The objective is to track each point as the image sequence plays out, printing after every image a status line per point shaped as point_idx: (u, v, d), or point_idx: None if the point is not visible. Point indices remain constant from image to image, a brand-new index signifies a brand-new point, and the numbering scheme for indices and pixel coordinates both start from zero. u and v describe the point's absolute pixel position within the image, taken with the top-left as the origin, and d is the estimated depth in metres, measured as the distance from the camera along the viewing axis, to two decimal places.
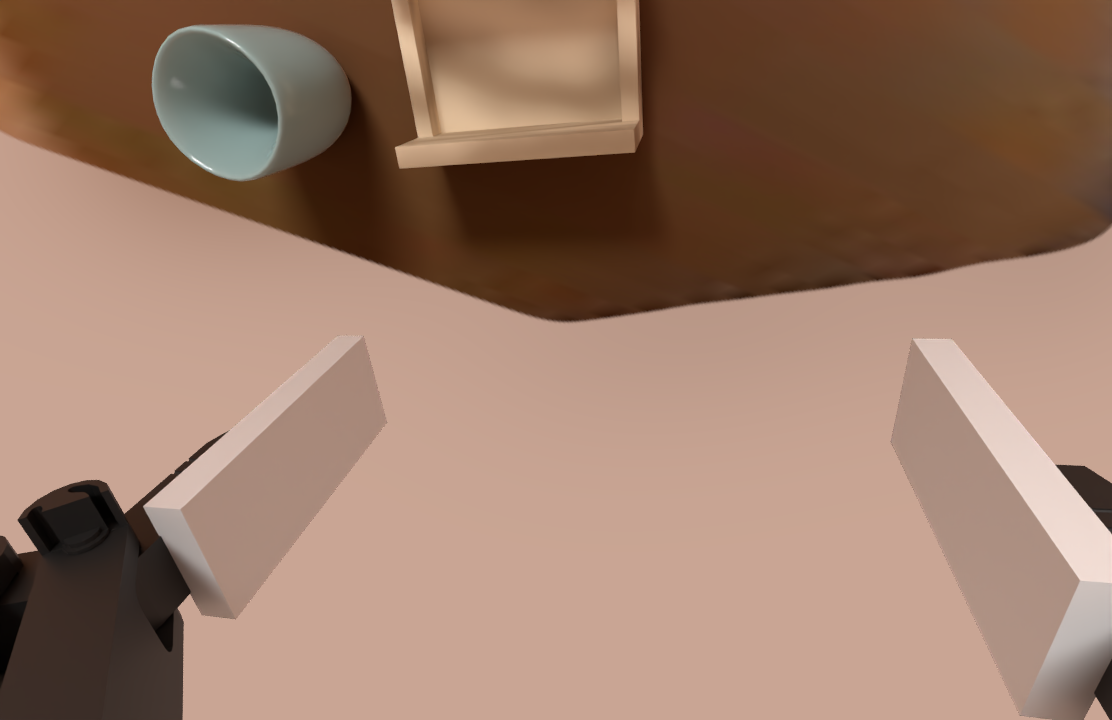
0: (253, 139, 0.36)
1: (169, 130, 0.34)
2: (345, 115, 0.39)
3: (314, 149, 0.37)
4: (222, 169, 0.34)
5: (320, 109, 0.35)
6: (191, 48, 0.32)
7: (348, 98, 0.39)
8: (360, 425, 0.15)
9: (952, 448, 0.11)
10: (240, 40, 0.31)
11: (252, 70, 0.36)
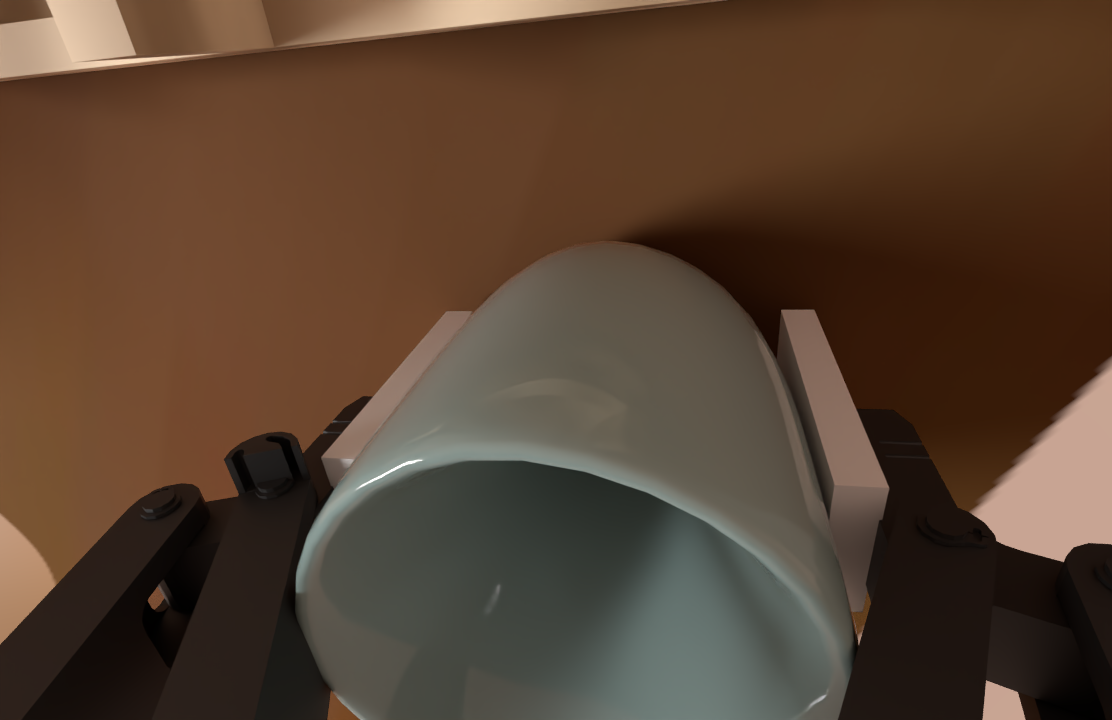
0: (700, 553, 0.11)
1: None
2: (675, 261, 0.13)
3: (763, 371, 0.10)
4: None
5: (621, 306, 0.09)
6: (396, 640, 0.10)
7: (631, 244, 0.13)
8: None
9: (794, 399, 0.13)
10: (322, 507, 0.08)
11: (524, 475, 0.13)
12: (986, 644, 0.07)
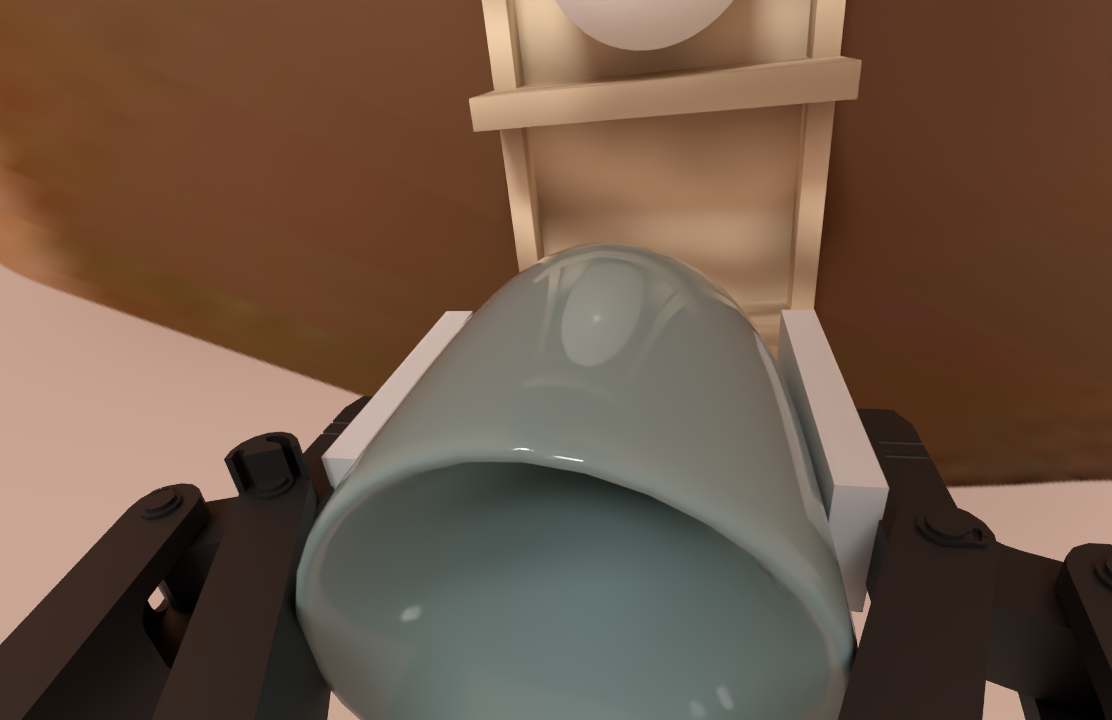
0: (700, 554, 0.11)
1: None
2: (675, 262, 0.13)
3: (763, 373, 0.10)
4: None
5: (621, 308, 0.09)
6: (397, 641, 0.10)
7: (631, 246, 0.13)
8: None
9: (794, 399, 0.13)
10: (323, 508, 0.08)
11: (524, 477, 0.13)
12: (986, 644, 0.07)
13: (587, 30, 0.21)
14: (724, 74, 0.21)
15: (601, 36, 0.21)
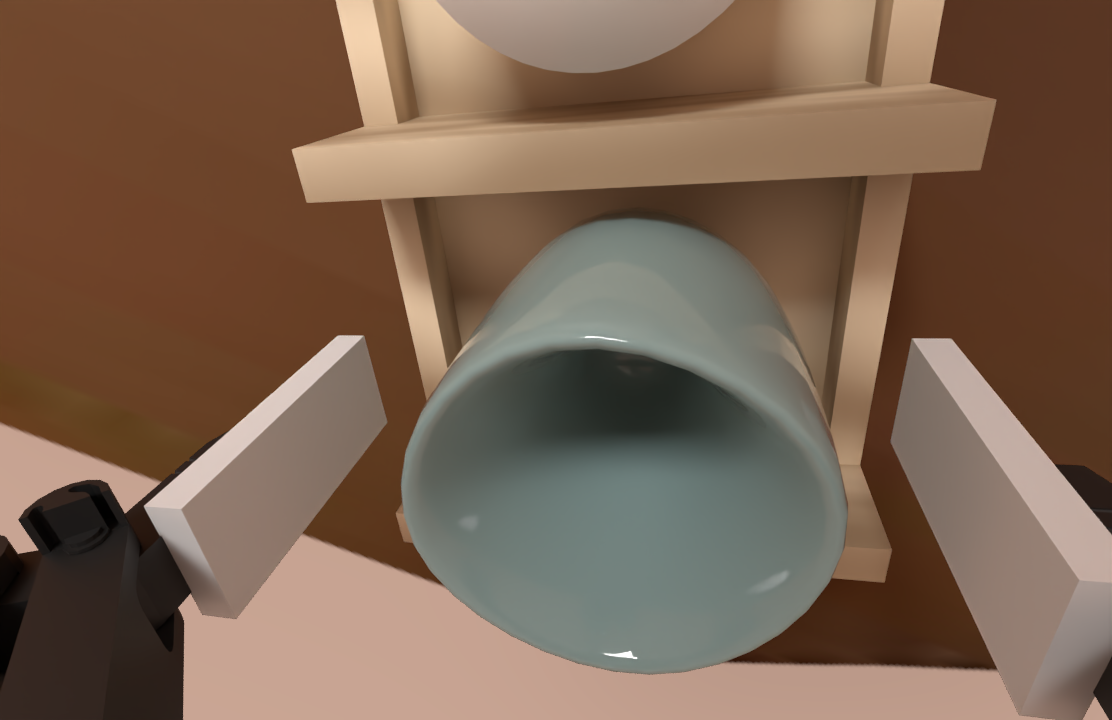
0: (718, 459, 0.13)
1: (659, 663, 0.12)
2: (696, 222, 0.15)
3: (772, 305, 0.12)
4: (790, 583, 0.11)
5: (658, 250, 0.12)
6: (472, 526, 0.12)
7: (657, 209, 0.15)
8: (360, 425, 0.15)
9: (951, 448, 0.11)
10: (429, 399, 0.10)
11: (566, 406, 0.15)
12: None
13: (481, 35, 0.12)
14: (732, 119, 0.12)
15: (507, 47, 0.12)
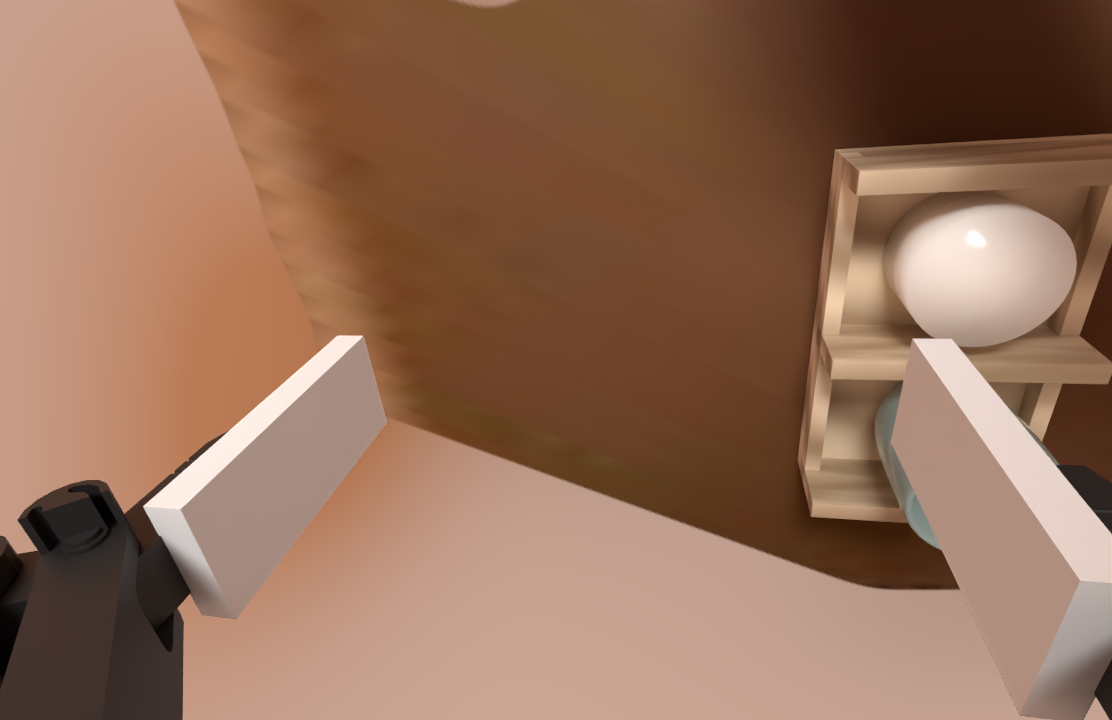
0: None
1: None
2: None
3: None
4: None
5: None
6: (916, 505, 0.34)
7: None
8: (360, 425, 0.15)
9: (951, 449, 0.11)
10: None
11: None
12: None
13: (930, 333, 0.33)
14: (1019, 363, 0.33)
15: (939, 337, 0.33)
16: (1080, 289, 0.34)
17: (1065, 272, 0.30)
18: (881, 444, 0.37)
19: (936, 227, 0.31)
